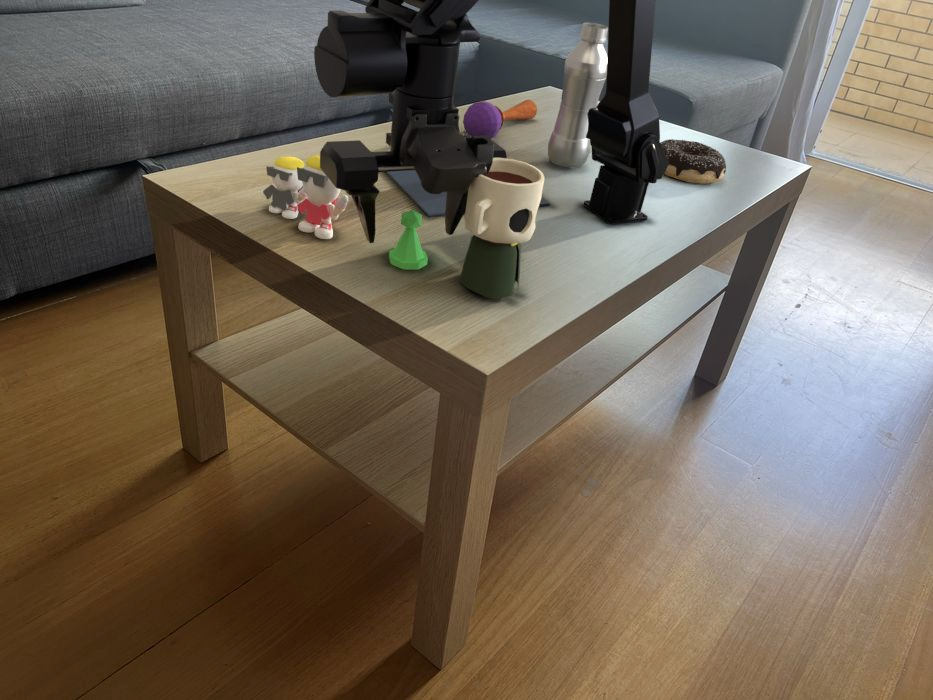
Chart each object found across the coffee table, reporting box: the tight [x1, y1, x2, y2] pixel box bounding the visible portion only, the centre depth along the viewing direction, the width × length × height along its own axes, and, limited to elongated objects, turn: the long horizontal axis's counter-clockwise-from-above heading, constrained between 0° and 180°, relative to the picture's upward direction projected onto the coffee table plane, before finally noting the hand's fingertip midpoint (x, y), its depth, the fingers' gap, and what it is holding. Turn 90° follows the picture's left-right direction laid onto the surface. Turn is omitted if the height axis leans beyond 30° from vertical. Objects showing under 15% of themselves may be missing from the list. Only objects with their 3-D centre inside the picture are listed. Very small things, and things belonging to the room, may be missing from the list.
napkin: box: [385, 170, 551, 217], centre depth 100 cm, size 18×20×1 cm
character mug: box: [459, 158, 546, 299], centre depth 73 cm, size 11×7×13 cm, turn 149°
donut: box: [660, 138, 727, 185], centre depth 114 cm, size 11×12×4 cm
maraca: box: [462, 99, 538, 140], centre depth 119 cm, size 6×6×20 cm
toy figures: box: [262, 154, 349, 240], centre depth 81 cm, size 12×4×8 cm, turn 49°
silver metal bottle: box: [547, 22, 609, 169], centre depth 105 cm, size 6×7×20 cm
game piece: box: [388, 209, 429, 271], centre depth 77 cm, size 4×4×6 cm
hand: (410, 237), depth 78 cm, fingers open, 9 cm apart
